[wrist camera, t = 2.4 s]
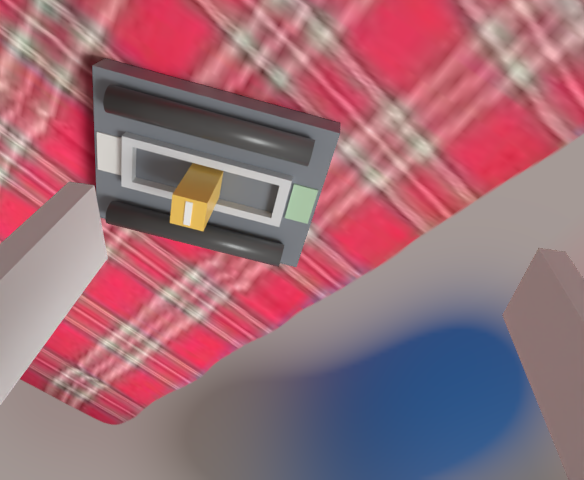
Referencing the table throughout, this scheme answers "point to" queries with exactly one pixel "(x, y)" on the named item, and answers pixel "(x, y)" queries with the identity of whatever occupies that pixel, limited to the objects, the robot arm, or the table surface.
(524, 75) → the table surface
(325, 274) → the table surface
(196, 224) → the lever
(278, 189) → the panel
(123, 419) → the table surface
